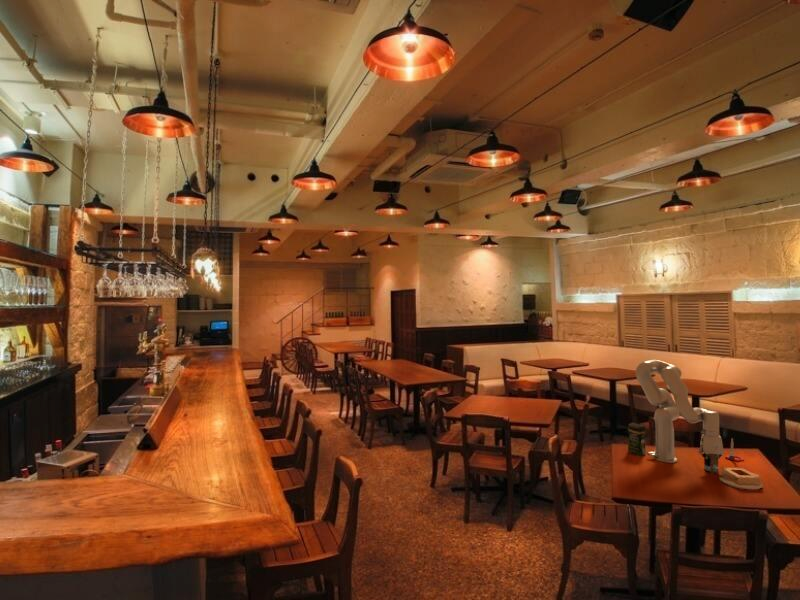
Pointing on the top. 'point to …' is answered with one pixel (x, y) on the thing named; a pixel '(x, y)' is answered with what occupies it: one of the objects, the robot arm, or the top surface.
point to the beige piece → (740, 478)
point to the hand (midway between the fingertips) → (711, 465)
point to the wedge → (712, 464)
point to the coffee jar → (636, 439)
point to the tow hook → (731, 456)
